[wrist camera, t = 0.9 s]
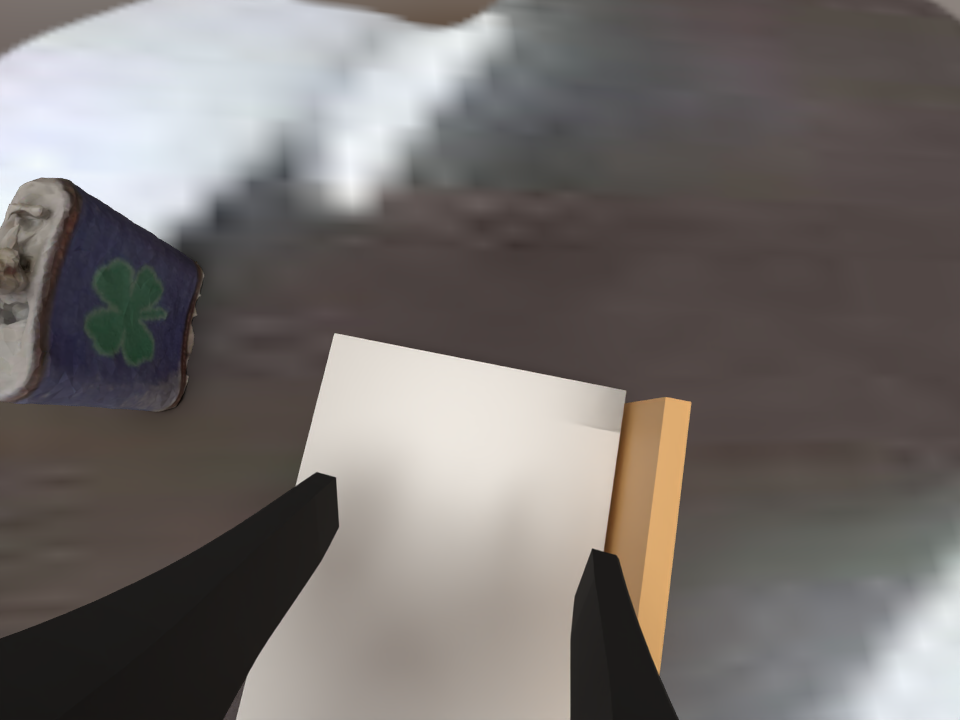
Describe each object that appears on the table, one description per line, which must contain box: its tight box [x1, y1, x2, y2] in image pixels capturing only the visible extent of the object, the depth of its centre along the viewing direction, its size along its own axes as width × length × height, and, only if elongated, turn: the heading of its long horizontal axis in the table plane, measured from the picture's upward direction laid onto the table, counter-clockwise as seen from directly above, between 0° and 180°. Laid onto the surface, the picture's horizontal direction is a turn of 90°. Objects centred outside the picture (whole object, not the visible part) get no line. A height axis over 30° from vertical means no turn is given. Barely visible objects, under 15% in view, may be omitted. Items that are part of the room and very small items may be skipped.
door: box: [604, 397, 691, 674], centre depth 19 cm, size 19×1×8 cm, turn 169°
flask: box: [0, 178, 204, 412], centre depth 20 cm, size 9×3×11 cm, turn 177°
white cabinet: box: [236, 333, 626, 720], centre depth 21 cm, size 20×14×5 cm
